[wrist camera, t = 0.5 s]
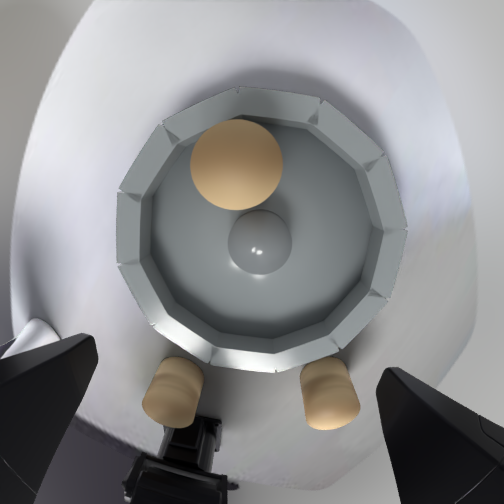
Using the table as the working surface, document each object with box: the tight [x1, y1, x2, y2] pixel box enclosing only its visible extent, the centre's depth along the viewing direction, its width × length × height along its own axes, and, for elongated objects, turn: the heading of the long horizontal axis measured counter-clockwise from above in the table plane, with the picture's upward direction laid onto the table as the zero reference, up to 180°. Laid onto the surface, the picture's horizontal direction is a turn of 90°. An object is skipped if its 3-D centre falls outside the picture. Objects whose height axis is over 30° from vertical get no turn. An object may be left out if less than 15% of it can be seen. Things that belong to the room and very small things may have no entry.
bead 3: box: [300, 357, 360, 430], centre depth 21 cm, size 4×4×5 cm
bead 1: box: [142, 357, 204, 428], centre depth 21 cm, size 4×4×5 cm
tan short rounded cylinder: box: [190, 119, 283, 210], centre depth 15 cm, size 4×4×5 cm
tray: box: [116, 86, 408, 373], centre depth 18 cm, size 19×19×3 cm
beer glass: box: [0, 318, 60, 359], centre depth 17 cm, size 7×7×15 cm
